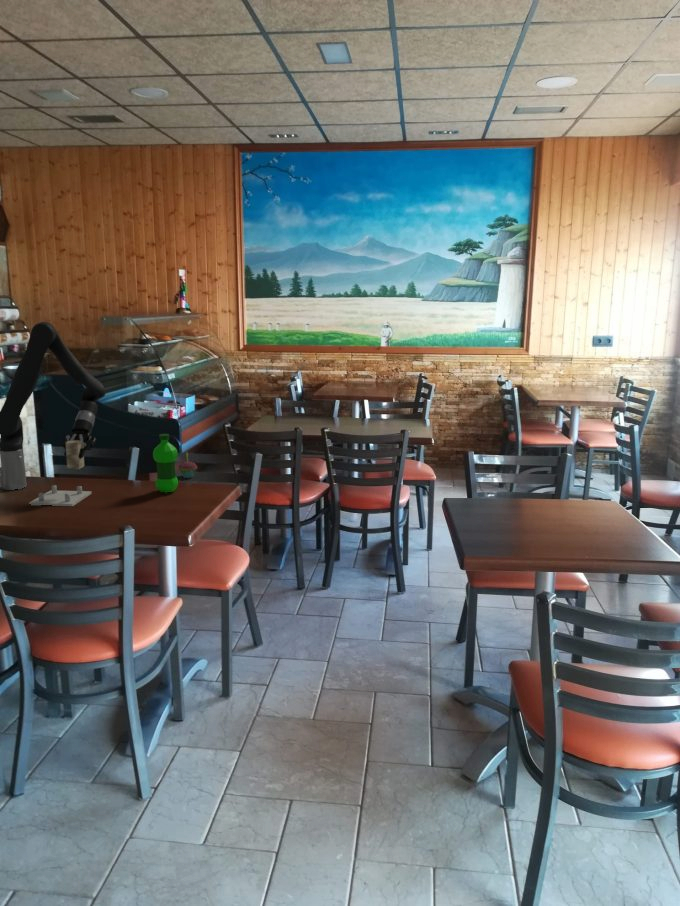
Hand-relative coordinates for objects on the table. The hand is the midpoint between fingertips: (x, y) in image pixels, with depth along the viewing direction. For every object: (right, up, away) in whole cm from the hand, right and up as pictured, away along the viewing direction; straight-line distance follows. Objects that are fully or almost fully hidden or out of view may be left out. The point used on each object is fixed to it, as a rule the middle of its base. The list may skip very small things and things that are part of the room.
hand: (73, 457), depth 280 cm
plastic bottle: (+35, -15, +14) cm, 41 cm away
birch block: (0, -4, +3) cm, 5 cm away
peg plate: (-6, -17, +2) cm, 18 cm away
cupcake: (+39, -9, +38) cm, 55 cm away
